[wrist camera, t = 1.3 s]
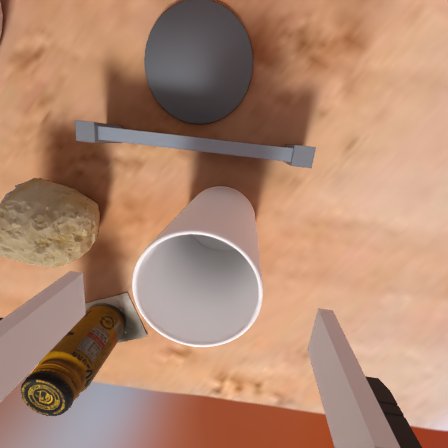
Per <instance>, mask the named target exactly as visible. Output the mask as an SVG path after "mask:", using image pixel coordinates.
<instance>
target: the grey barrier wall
mask: <svg viewBox="0 0 448 448" xmlns="http://www.w3.org/2000/svg"><path fill="white" fill-rule="evenodd" d="M75 129H76V141H83V142H92V143H122V142H124V143H132V144H141V145H149V146H158V147H167V148H175V149H184V150H192V151H201V152H209V153H218V154H227V155H235V156H244V157H252V158H261V159H270V160H278V161H283V162H285V163H287V164H289V165H291V166H297V167H305V168H312V163H313V158H314V154H315V149H316V147H309V146H300V145H286V147H277V146H268V145H259V144H250V143H242V142H233V141H224V140H215V139H207V138H198V137H189V136H180V135H171V134H163V133H154V132H145V131H136V130H127V129H122V126H118V125H111V124H103V123H96V122H88V121H79V120H75Z"/></svg>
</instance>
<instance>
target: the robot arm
mask: <svg viewBox="0 0 448 448" xmlns="http://www.w3.org/2000/svg"><path fill="white" fill-rule="evenodd" d="M85 314H86V312H85V296H84V281H83V273H78V272H71V271H70V272H68V273H67V274H66V275H64V276H63V277H61V278H60V279H58V280H57V281H56V282H54V283H53V284H51V285H50V286H49V287H47V288H46V289H44V290H43V291H42V292H40V293H39V294H37V295H36V296H34V297H33V298H32V299H30V300H29V301H27V302H26V303H25V304H23V305H22V306H20V307H19V308H17V309H16V310H15V311H13V312H12V313H10V314H9V315H8V316H6V317H5V318H0V402H1V401H2V400H3V399H4V398H5V397H6V396H7V395H8V394H9V393H10V392H11V391H12V390H13V389H14V388H15V387H16V386H17V385H18V384H19V383H20V382H21V381H22V380H23V379H24V378H25V377H26V375H28V373H29V372H30V371H31V370H32V369H33V368H34V367H35V366H36V365H37V364H38V363H39V362H40V361H41V360H42V359H43V358H44V357H45V356H46V355H47V354H48V353H49V352H50V351H51V350H52V349H53V348H54V347H55V346H56V345H57V343H58V342H59V341H60V340H61V339H62V338H63V337H64V336H65V335H66V334H67V333H68V332H69V331H70V330H71V329H72V328H73V327H74V326H75V325H76V324H77V323H78V322H79V321H80V320H81V319H82V318H83V317H84V316H85ZM308 353H309V357H310V360H311V364H312V368H313V371H314V375H315V378H316V382H317V386H318V389H319V393H320V396H321V400H322V404H323V407H324V411H325V414H326V418H327V422H328V425H329V429H330V432H331V436H332V439H333V443H334V447H335V448H422V447H421V445H420V443H419V441H418V440H417V438H416V436H415V434H414V433H413V431H412V429H411V427H410V426H409V424H408V422H407V420H406V418H404V416H403V413H402V411H401V410H400V408H399V406H397V403H396V401H395V399H394V397H393V395H392V394H391V392H390V390H389V389H388V388H387V387H386V386H385V385H384V384H383V383H382V382H381V381H380V380H379V379H378V378H372V377H365V375H364V373H363V371H362V369H361V367H360V365H359V363H358V361H357V359H356V357H355V355H354V353H353V351H352V349H351V347H350V345H349V343H348V341H347V339H346V337H345V335H344V333H343V330H342V328H341V326H340V324H339V322H338V320H337V318H336V316H335V314H334V312H333V311H332V310H325V309H319V308H318V311H317V315H316V319H315V322H314V326H313V330H312V334H311V338H310V342H309V346H308Z"/></svg>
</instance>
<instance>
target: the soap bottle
mask: <svg viewBox="0 0 448 448" xmlns="http://www.w3.org/2000/svg"><path fill="white" fill-rule="evenodd" d="M2 20H3V13H2V8H1V2H0V38H1V32H2Z"/></svg>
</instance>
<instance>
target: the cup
mask: <svg viewBox="0 0 448 448" xmlns="http://www.w3.org/2000/svg"><path fill="white" fill-rule="evenodd" d="M132 290H133V296H134V300H135V302H136V305H137V307H138V309H139V311H140V313H141V315H142V316H143V317H144V319H145V320H146V321H147V322H148V324H149V325H150V326H151V327H152V328H154V329H155V330H156V331H157V332H159V333H160V334H162V335H163V336H165V337H166V338H168V339H170V340H173V341H175V342H178V343H181V344H184V345H188V346H195V347H211V346H217V345H221V344H225V343H227V342H230V341H232V340H234V339H236V338H237V337H239V336H241V335H242V334H243V333H244V332H246V331H247V330H248V329H249V328H250V326H251V325H252V324H253V323H254V321H255V320H256V318H257V316H258V314H259V311H260V308H261V304H262V298H263V284H262V274H261V265H260V255H259V246H258V237H257V228H256V219H255V212H254V209H253V207H252V205H251V203H250V201H249V200H248V199H247V198H246V197H245V196H244V195H243V194H242V193H241V192H239V191H237V190H236V189H233V188H230V187H226V186H215V187H211V188H208V189H205V190H204V191H202V192H200V193H199V194H198V195H197V196H196V197H195V198H194V199H193V200H192V201H191V202H190V203H189V204H188V205H187V206H186V207H185V208H184V209H183V210H182V211H181V212H180V213H179V215H178V216H177V217H176V218H175V219H174V220H173V221H172V222H171V223H170V224H169V225H168V226H167V227H166V228H165V229H164V230H163V231H162V232H161V233H160V234H159V235H158V236H157V238H156V239H155V240H154V241H153V242H152V243H151V244H150V245H149V246H148V247H147V248H146V249H145V251H144V252H143V253H142V255H141V256H140V258H139V260H138V262H137V264H136V266H135V269H134V273H133V278H132Z"/></svg>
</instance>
